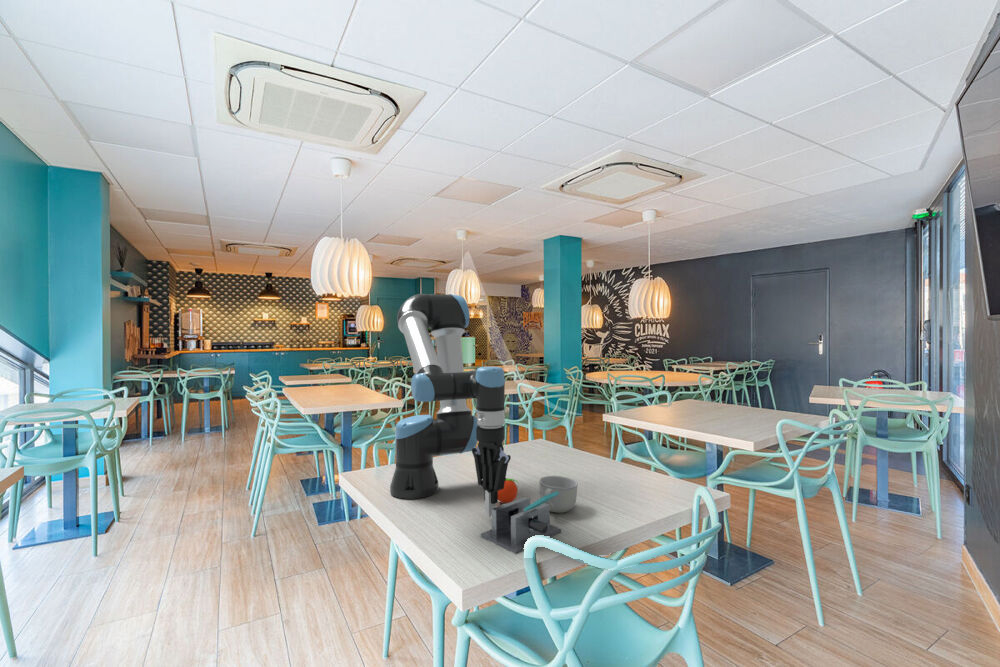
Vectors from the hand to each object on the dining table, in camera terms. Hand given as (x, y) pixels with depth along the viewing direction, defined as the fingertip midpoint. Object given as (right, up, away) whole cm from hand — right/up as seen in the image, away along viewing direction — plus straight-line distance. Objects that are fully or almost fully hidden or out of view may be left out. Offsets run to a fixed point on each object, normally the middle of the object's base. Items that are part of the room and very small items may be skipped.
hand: (490, 514), depth 121 cm
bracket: (+8, -2, -8) cm, 12 cm away
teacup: (+18, -2, +7) cm, 19 cm away
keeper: (+12, +8, -13) cm, 20 cm away
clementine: (+5, -2, +14) cm, 15 cm away
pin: (+8, 0, -9) cm, 12 cm away
